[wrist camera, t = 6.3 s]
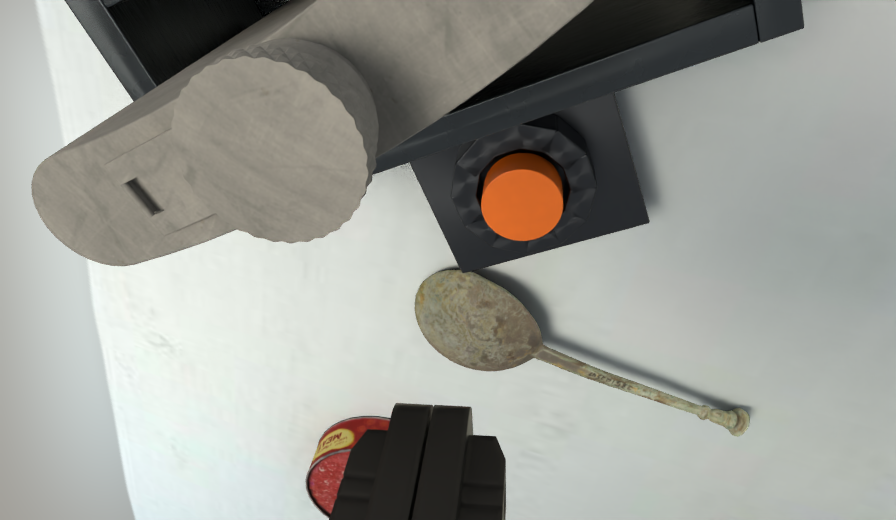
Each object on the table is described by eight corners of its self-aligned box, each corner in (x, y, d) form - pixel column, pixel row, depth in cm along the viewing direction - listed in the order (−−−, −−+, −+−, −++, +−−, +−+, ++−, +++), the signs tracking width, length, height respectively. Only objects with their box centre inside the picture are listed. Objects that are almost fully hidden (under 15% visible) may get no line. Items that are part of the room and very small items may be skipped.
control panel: (399, 108, 31) (383, 140, 28) (597, 35, 28) (605, 61, 25) (466, 252, 36) (458, 294, 32) (644, 201, 32) (655, 242, 29)
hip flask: (572, -209, 23) (650, -319, 7) (617, -103, 25) (765, 9, 9) (265, 18, 30) (-80, 245, 13) (318, 91, 31) (72, 373, 15)
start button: (472, 166, 29) (468, 183, 27) (548, 141, 27) (548, 158, 26) (499, 230, 30) (497, 250, 29) (571, 209, 29) (573, 228, 28)
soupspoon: (441, 238, 36) (404, 314, 40) (430, 273, 33) (391, 350, 37) (772, 384, 38) (705, 442, 42) (786, 427, 35) (714, 486, 39)
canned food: (419, 376, 48) (467, 463, 39) (433, 472, 52) (478, 569, 44) (270, 420, 45) (287, 526, 36) (298, 518, 49) (319, 633, 41)
